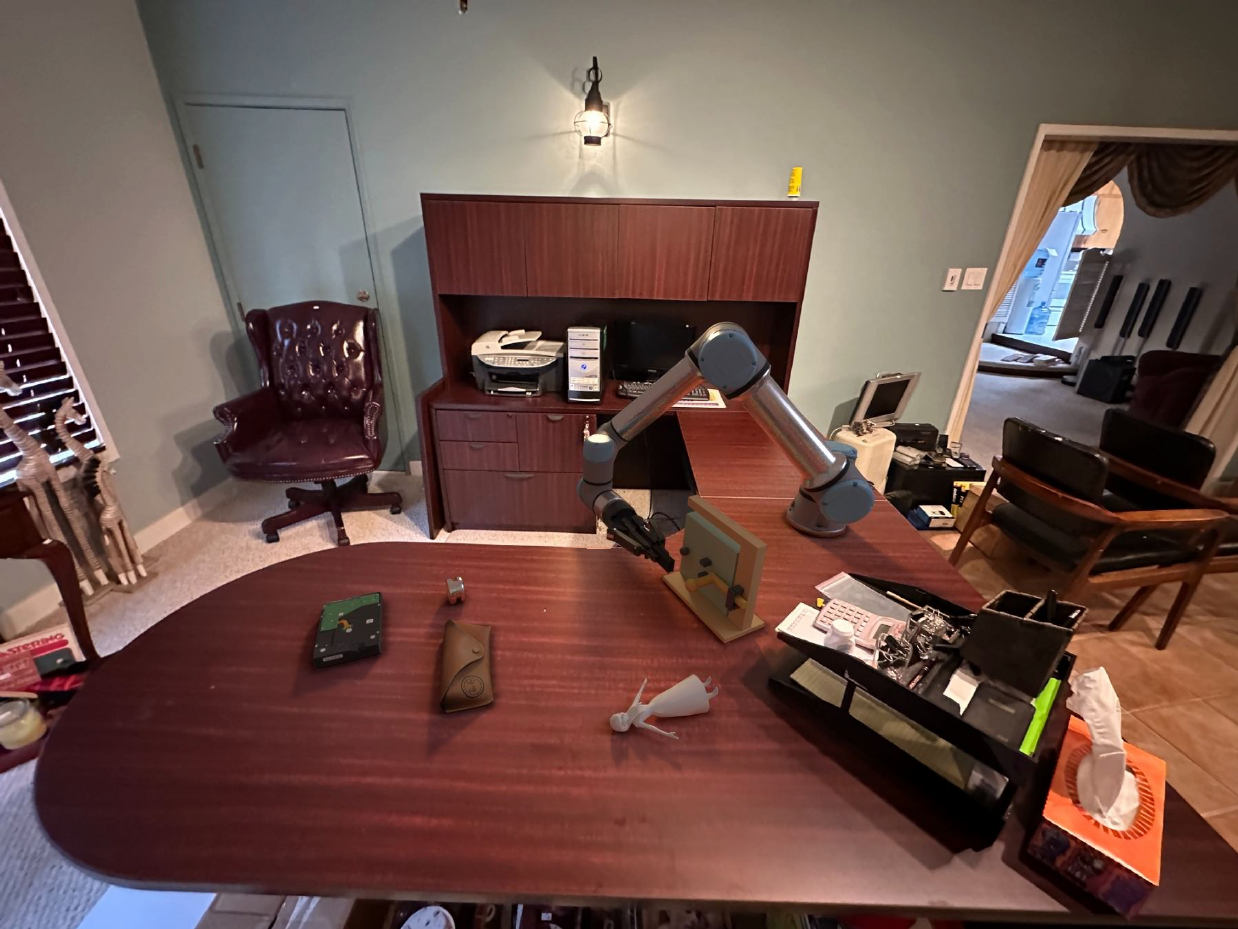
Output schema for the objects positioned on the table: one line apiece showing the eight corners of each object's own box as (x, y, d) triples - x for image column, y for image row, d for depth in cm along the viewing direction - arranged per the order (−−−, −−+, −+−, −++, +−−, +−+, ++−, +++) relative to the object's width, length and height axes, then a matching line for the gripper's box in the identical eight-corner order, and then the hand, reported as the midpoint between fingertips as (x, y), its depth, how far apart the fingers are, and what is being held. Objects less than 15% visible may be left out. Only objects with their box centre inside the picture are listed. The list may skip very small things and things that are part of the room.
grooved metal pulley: (446, 594, 101) (444, 574, 99) (461, 590, 103) (459, 570, 101) (452, 609, 97) (449, 589, 95) (467, 604, 99) (465, 584, 97)
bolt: (711, 578, 99) (713, 568, 98) (746, 610, 91) (749, 599, 90) (681, 588, 96) (683, 578, 95) (715, 622, 88) (717, 611, 87)
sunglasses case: (497, 701, 78) (471, 679, 75) (459, 725, 78) (432, 704, 75) (491, 623, 94) (470, 601, 90) (460, 643, 94) (437, 622, 90)
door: (698, 568, 113) (709, 491, 105) (763, 626, 97) (782, 540, 89) (662, 579, 109) (670, 500, 101) (724, 643, 92) (739, 554, 84)
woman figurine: (734, 706, 74) (624, 749, 69) (732, 726, 76) (624, 769, 71) (696, 650, 84) (597, 684, 79) (695, 669, 86) (598, 703, 81)
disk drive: (383, 654, 87) (383, 600, 99) (380, 642, 85) (381, 589, 98) (315, 671, 83) (324, 613, 95) (311, 659, 82) (321, 601, 94)
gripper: (637, 520, 123) (695, 573, 104) (590, 532, 117) (642, 590, 99) (639, 493, 120) (699, 543, 101) (591, 504, 114) (645, 559, 95)
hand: (671, 566), depth 100 cm, fingers closed
